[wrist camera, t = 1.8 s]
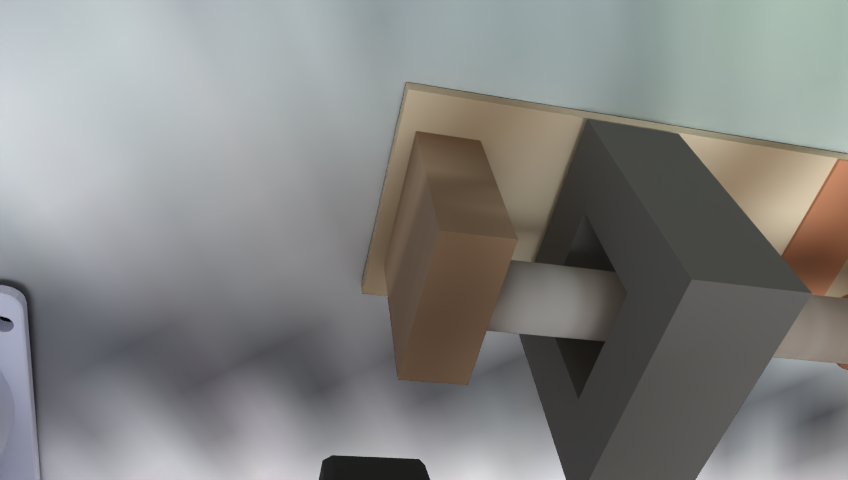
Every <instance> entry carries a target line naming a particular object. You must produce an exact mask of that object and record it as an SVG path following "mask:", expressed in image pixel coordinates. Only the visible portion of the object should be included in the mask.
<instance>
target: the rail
mask: <svg viewBox="0 0 848 480" xmlns="http://www.w3.org/2000/svg"><path fill="white" fill-rule="evenodd" d="M587 119H590V120H596V121H602V122H608V123H615V124H621V125H627V126H633V127H640V128H646V129H652V130H658V131H665V132H671V133H677V134H679V135H680V136H681V137H682V138H683V140H684V141H685V142H686V143H687V144H688V146H689V147H690V148H691V149H692V150H693V152H694V153H695V154H696V155H697V156H698V158H699V159H700V160H701V161H702V162H703V164H704V165H705V166H706V167H707V168H708V170H709V171H710V172H711V173H712V174H713V175H714V177H715V178H716V179H717V180H718V181H719V183H720V184H721V185H722V186H723V187H724V189H725V190H726V191H727V192H728V193H729V195H730V196H731V197H732V198H733V199H734V201H735V202H736V203H737V204H738V205H739V207H740V208H741V209H742V210H743V211H744V212H745V214H746V215H747V216H748V217H749V218H750V220H751V221H752V222H753V223H754V224H755V226H756V227H757V228H758V229H759V230H760V232H761V233H762V234H763V235H764V236H765V238H766V239H767V240H768V241H769V242H770V243H771V245H772V246H773V247H774V248H775V249H776V251H777V252H778V253H779V254H780V255H781V257H782V258H783V259H784V260H785V261H786V263H787V264H788V265H789V266H790V267H791V269H792V270H793V271H794V272H795V273H796V275H797V276H798V277H799V278H800V279H801V280H802V282H803V283H804V284H805V285H806V286H807V288H808V289H809V290H810V291H811V292H812V295H811V296H810V298H809V299H808V301H807V303H806V304H805V306H804V307H803V309H802V311H801V312H800V314H799V315H798V317H797V319H796V320H795V322H794V323H793V325H792V326H791V328H790V330H789V331H788V333H787V334H786V336H785V338H784V339H783V341H782V342H781V344H780V346H779V347H778V349H777V350H776V352H775V354H774V355H773V357H776V358H787V359H798V360H809V361H819V362H830V363H836V364H837V365H839V366H840V367H842V368H844V369H846V370H848V154H844V153H838V152H832V151H826V150H820V149H814V148H807V147H801V146H795V145H789V144H783V143H777V142H771V141H764V140H758V139H752V138H746V137H740V136H734V135H728V134H721V133H715V132H709V131H703V130H697V129H691V128H685V127H678V126H672V125H666V124H660V123H654V122H648V121H642V120H635V119H629V118H623V117H617V116H611V115H605V114H599V113H592V112H586V111H580V110H574V109H568V108H562V107H556V106H549V105H543V104H537V103H531V102H525V101H519V100H513V99H506V98H500V97H494V96H488V95H482V94H476V93H470V92H463V91H457V90H451V89H445V88H439V87H433V86H427V85H421V84H414V83H408V82H406V86H405V91H404V95H403V100H402V104H401V109H400V113H399V118H398V122H397V127H396V131H395V136H394V140H393V145H392V149H391V154H390V158H389V163H388V168H387V172H386V177H385V181H384V186H383V190H382V195H381V199H380V204H379V208H378V213H377V217H376V222H375V226H374V231H373V235H372V240H371V244H370V249H369V253H368V258H367V262H366V267H365V271H364V276H363V280H362V294H372V295H382V296H388V303H389V311H390V319H391V327H392V335H393V343H394V351H395V360H396V368H397V376H398V380H409V381H422V382H435V383H448V384H461V385H468V382H469V380H470V377H471V374H472V371H473V368H474V365H475V362H476V359H477V357H478V354H479V351H480V348H481V345H482V342H483V339H484V336H485V334H486V331H497V332H508V333H518V334H529V335H540V336H551V337H561V338H572V339H583V340H594V341H604V342H605V341H606V339H607V337H608V334H609V332H610V330H611V328H612V326H613V324H614V321H615V319H616V317H617V315H618V313H619V311H620V308H621V306H622V304H623V302H624V300H625V298H626V295H627V292H626V290H625V288H624V286H623V284H622V282H621V281H620V279H619V277H618V275H617V273H616V272H613V271H604V270H596V269H587V268H578V267H570V266H561V265H552V264H543V263H535V260H536V257H537V254H538V252H539V249H540V246H541V244H542V241H543V238H544V236H545V233H546V230H547V227H548V225H549V222H550V219H551V217H552V214H553V211H554V208H555V206H556V203H557V200H558V198H559V195H560V192H561V189H562V187H563V184H564V181H565V179H566V176H567V173H568V170H569V168H570V165H571V162H572V160H573V157H574V154H575V151H576V149H577V146H578V143H579V141H580V138H581V135H582V132H583V130H584V127H585V124H586V122H587Z"/></svg>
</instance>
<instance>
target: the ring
mask: <svg viewBox="0 0 848 480" xmlns="http://www.w3.org/2000/svg"><path fill="white" fill-rule="evenodd" d="M535 263H543V264H552V265H561V266H570V267H578V268H587V269H596V270H604V271H613V272H616V273H617V275H618V277H619V279H620V281H621V282H622V284H623V286H624V288H625V290H626V292H627V295H626V298H625V300H624V302H623V304H622V306H621V308H620V311H619V313H618V315H617V317H616V319H615V321H614V324H613V326H612V328H611V330H610V332H609V334H608V337H607V339H606V341H605V342H604V341H594V340H583V339H572V338H561V337H551V336H540V335H529V334H519V335H520V338H521V342H522V345H523V348H524V351H525V354H526V357H527V360H528V363H529V366H530V369H531V372H532V376H533V379H534V382H535V385H536V388H537V391H538V394H539V397H540V400H541V403H542V406H543V410H544V413H545V416H546V419H547V422H548V425H549V428H550V431H551V434H552V437H553V440H554V444H555V447H556V450H557V453H558V456H559V459H560V462H561V465H562V468H563V471H564V474H565V478H566V480H695V479H696V478H697V476H698V475H699V473H700V471H701V470H702V468H703V467H704V465H705V463H706V462H707V460H708V459H709V457H710V455H711V454H712V452H713V451H714V449H715V447H716V446H717V444H718V443H719V441H720V440H721V438H722V436H723V435H724V433H725V432H726V430H727V428H728V427H729V425H730V424H731V422H732V420H733V419H734V417H735V416H736V414H737V412H738V411H739V409H740V408H741V406H742V404H743V403H744V401H745V400H746V398H747V397H748V395H749V393H750V392H751V390H752V389H753V387H754V385H755V384H756V382H757V381H758V379H759V377H760V376H761V374H762V373H763V371H764V369H765V368H766V366H767V365H768V363H769V362H770V360H771V358H772V357H773V355H774V354H775V352H776V350H777V349H778V347H779V346H780V344H781V342H782V341H783V339H784V338H785V336H786V334H787V333H788V331H789V330H790V328H791V326H792V325H793V323H794V322H795V320H796V319H797V317H798V315H799V314H800V312H801V311H802V309H803V307H804V306H805V304H806V303H807V301H808V299H809V298H810V296H811V295H812V292H811V291H810V290H809V289H808V288H807V286H806V285H805V284H804V283H803V282H802V280H801V279H800V278H799V277H798V276H797V275H796V273H795V272H794V271H793V270H792V269H791V267H790V266H789V265H788V264H787V263H786V261H785V260H784V259H783V258H782V257H781V255H780V254H779V253H778V252H777V251H776V249H775V248H774V247H773V246H772V245H771V243H770V242H769V241H768V240H767V239H766V238H765V236H764V235H763V234H762V233H761V232H760V230H759V229H758V228H757V227H756V226H755V224H754V223H753V222H752V221H751V220H750V218H749V217H748V216H747V215H746V214H745V212H744V211H743V210H742V209H741V208H740V207H739V205H738V204H737V203H736V202H735V201H734V199H733V198H732V197H731V196H730V195H729V193H728V192H727V191H726V190H725V189H724V187H723V186H722V185H721V184H720V183H719V181H718V180H717V179H716V178H715V177H714V175H713V174H712V173H711V172H710V171H709V170H708V168H707V167H706V166H705V165H704V164H703V162H702V161H701V160H700V159H699V158H698V156H697V155H696V154H695V153H694V152H693V150H692V149H691V148H690V147H689V146H688V144H687V143H686V142H685V141H684V140H683V138H682V137H681V136H680V135H679V134H677V133H671V132H665V131H658V130H652V129H646V128H640V127H633V126H627V125H621V124H615V123H608V122H602V121H596V120H590V119H587V122H586V124H585V127H584V130H583V132H582V135H581V138H580V141H579V143H578V146H577V149H576V151H575V154H574V157H573V160H572V162H571V165H570V168H569V170H568V173H567V176H566V179H565V181H564V184H563V187H562V189H561V192H560V195H559V198H558V200H557V203H556V206H555V208H554V211H553V214H552V217H551V219H550V222H549V225H548V227H547V230H546V233H545V236H544V238H543V241H542V244H541V246H540V249H539V252H538V254H537V257H536V260H535Z"/></svg>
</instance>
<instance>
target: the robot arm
mask: <svg viewBox="0 0 848 480" xmlns="http://www.w3.org/2000/svg"><path fill="white" fill-rule="evenodd" d="M0 316H3V317H6V318H9V319H10V320H11V321H12V322H6V321H3V320H1V319H0V480H40V468H39V455H38V442H37V429H36V416H35V403H34V391H33V378H32V365H31V352H30V339H29V326H28V313H27V302H26V299H25V296H24V295H23V294H22V293H21V292H20V291H18V290H16V289H15V288H13V287H9V286H5V285H0ZM319 480H430V478H429V475H428V473H427V470H426V467H425V465H424V464H423V463H422V462H421V461H420V460H419V459H403V458H380V457H357V456H334V455H332V456H330V457H329V458H327V459H325V460H323V462H322V467H321V472H320V477H319Z"/></svg>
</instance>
